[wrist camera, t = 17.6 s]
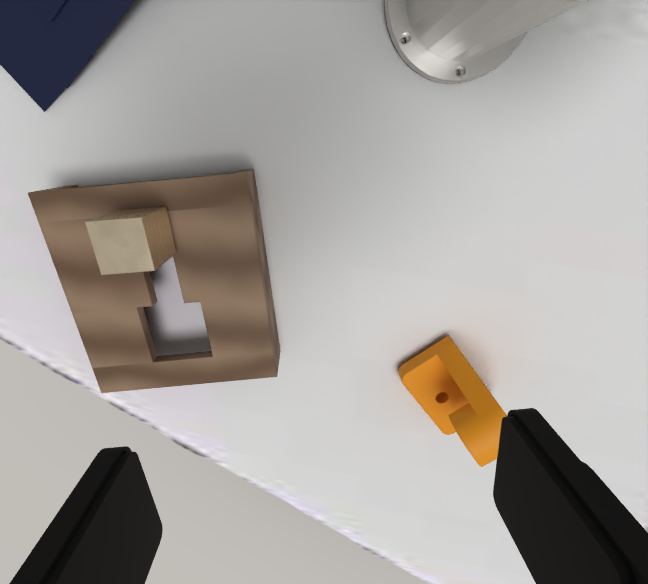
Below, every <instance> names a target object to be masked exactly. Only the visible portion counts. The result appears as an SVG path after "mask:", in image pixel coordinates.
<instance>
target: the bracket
mask: <svg viewBox="0 0 648 584" xmlns="http://www.w3.org/2000/svg"><path fill="white" fill-rule="evenodd" d="M398 372H399V375H400V378H401V380H402V383H403V385H404V386H405V387H406V388H407V390H408V391H409V392H410V393H411V394H412V396H413V397H414V398H415V399H416V401H417V402H418V403H419V404H420V405H421V407H422V408H423V409H424V410H425V412H426V413H427V414H428V415H429V416H430V418H431V419H432V420H433V421H434V423H435V424H436V425H437V426H438V428H439V429H440V430H441V431H442V432H443V433H444V434H453V433H455V432H457V434H458V435H459V437H460V439H461V440H462V442H463V443H464V445H465V446H466V448H467V449H468V451H469V452H470V454H471V455H472V456H473V458H474V459H475V460H476V462H477V463H478V464H479V465H480V466H481V467H483V466H484V465H486V464H488V463H490V462H492V461H494V460H495V459H497V456H498V448H499V439H500V431H501V422H502V418H503V417H507V415H506V414H505V412H504V411H503V410H502V408H501V407H500V405H499V404H498V403H497V401H496V400H495V399H494V397H493V396H492V394H491V393H490V392H489V390H488V389H487V388H486V386H485V385H484V383H483V382H482V381H481V379H480V378H479V377H478V375H477V374H476V372H475V371H474V370H473V368H472V367H471V366H470V364H469V363H468V361H467V360H466V359H465V357H464V356H463V354H462V353H461V352H460V350H459V349H458V348H457V346H456V345H455V343H454V342H453V341H452V339H451V338H450V337H449V335H448V336H447V337H445V338H443V339H442V340H440V341H439V342H437V343H436V344H434V345H432V346H431V347H429V348H428V349H426V350H425V351H423V352H421V353H420V354H418V355H417V356H415V357H414V358H412V359H411V360H409V361H407V362H406V363H404V364H403V365H401V366H400V368H399V370H398Z"/></svg>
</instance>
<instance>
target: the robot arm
mask: <svg viewBox="0 0 648 584" xmlns="http://www.w3.org/2000/svg"><path fill="white" fill-rule="evenodd" d="M586 1H588V0H385V16H386V21H387V27H388V31H389V33H390V36H391V39H392V42H393V44H394V46H395V48H396V49H397V51H398V53H399V55H400V56H401V58H402V59H403V60H404V61H405V62H406V63H407V64H408V65H409V67H410V68H412V69H413V70H414V71H416V72H417V73H418V74H420V75H421V76H423V77H425V78H428V79H430V80H432V81H436V82H441V83H462V82H466V81H470V80H474V79H476V78H478V77H481V76H483V75H485V74H487V73H489V72H490V71H492V70H494V69H495V68H497V67H498V66H499V65H500V64H502V63H503V62H504V61H505V60H506V59H507V58H509V56H510V55H511V54H512V53H513V52H514V50H515V49H516V48H517V47H518V46H519V45H520V43H521V41H522V40H523V38H524V37H525V35H526V33H527V32H528V31H529V30H531V29H533V28H535V27H537V26H539V25H541V24H543V23H545V22H547V21H549V20H551V19H552V18H554V17H556V16H558V15H560V14H562V13H564V12H566V11H568V10H570V9H572V8H574V7H576V6H578V5H580V4H582V3H584V2H586ZM401 38H405V39H406V43H405V44H402V43H401ZM456 70H458V71H459V76H457V75H456ZM493 496H494V501H495V504H496V507H497V509H498V511H499V513H500V515H501V517H502V519H503V521H504V523H505V525H506V527H507V528H508V530H509V532H510V534H511V536H512V538H513V540H514V542H515V544H516V546H517V548H518V550H519V552H520V554H521V555H522V557H523V559H524V561H525V563H526V565H527V567H528V569H529V571H530V573H531V575H532V577H533V579H534V581H535V582H536V584H648V533H647V532H646V530H645V529H644V528H643V527H642V526H641V525H640V524H639V522H638V521H637V520H636V519H635V518H634V517H633V516H632V514H631V513H630V512H629V511H628V510H627V509H626V508H625V506H624V505H623V504H622V503H621V502H620V501H619V500H618V498H617V497H616V496H615V495H614V494H613V493H612V492H611V490H610V489H609V488H608V487H607V486H606V485H605V483H604V482H603V481H602V480H601V479H600V478H599V477H598V475H597V474H596V473H595V472H594V471H593V470H592V469H591V468H590V467H589V466H588V465H587V464H586V463H584V462H582V461H580V460H579V458H578V457H577V456H576V455H575V454H574V453H573V451H572V450H571V449H570V448H569V447H568V446H567V444H566V443H565V442H564V441H563V440H562V439H561V437H560V436H559V435H558V434H557V433H556V432H555V430H554V429H553V428H552V427H551V426H550V425H549V423H548V422H547V421H546V420H545V419H544V418H543V416H542V415H541V414H540V413H539V412H538V411H537V410H536V409H534V408H529V409H519V410H510V411H509V412H508V415H507V417H503V418H502V422H501V431H500V439H499V448H498V456H497V465H496V473H495V482H494V490H493ZM161 537H162V523H161V520H160V517H159V514H158V511H157V509H156V506H155V503H154V500H153V497H152V494H151V492H150V489H149V486H148V483H147V480H146V477H145V474H144V472H143V469H142V466H141V463H140V460H139V457H138V455H137V453H136V452H132V451H131V450H130V448H129V447H115V448H104V449H102V450H101V451H100V452H99V453H98V454H97V456H96V457H95V459H94V460H93V461H92V463H91V465H90V466H89V468H88V469H87V470H86V472H85V473H84V475H83V476H82V478H81V479H80V481H79V482H78V484H77V485H76V487H75V488H74V490H73V491H72V493H71V494H70V495H69V497H68V498H67V500H66V501H65V503H64V504H63V506H62V507H61V509H60V510H59V512H58V513H57V515H56V516H55V518H54V519H53V521H52V522H51V523H50V525H49V526H48V528H47V529H46V531H45V532H44V534H43V535H42V537H41V538H40V540H39V541H38V543H37V544H36V546H35V547H34V549H33V550H32V552H31V553H30V555H29V556H28V557H27V559H26V561H25V562H24V563H23V565H22V566H21V568H20V569H19V571H18V572H17V574H16V575H15V577H14V578H13V580H12V581H11V582H10V584H145V581H146V578H147V576H148V573H149V570H150V568H151V565H152V562H153V560H154V557H155V554H156V552H157V549H158V546H159V544H160V541H161Z"/></svg>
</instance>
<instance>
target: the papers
mask: <svg viewBox="0 0 648 584" xmlns="http://www.w3.org/2000/svg"><path fill="white" fill-rule="evenodd" d="M134 1H135V0H0V65H1V66H2V67H3V68H4V69H5V70H6V71H7V72H8V73H9V74H10V75H11V76H12V77H13V78H14V80H15V81H16V82H17V83H18V84H19V85H20V86H21V87H22V88H23V89H24V90H25V91H26V92H27V93H28V95H29V96H30V97H31V98H32V99H33V100H34V101H35V102H36V103H37V104H38V105H39V106H40V107H41V108H42V110H43V111H45V110H46V109H47V108H48V107H49V106H50V105H51V103H52V102H53V101H54V100H55V99H56V98H57V97H58V95H59V94H60V93H61V92H62V91H63V90H64V89H65V88H66V87H67V88H68V86H69V85H70V84H71V83H72V81H73V80H74V79H75V78H76V76H77V75H78V74H79V72H80V71H81V70H82V69H83V67H84V66H85V65H86V63H87V62H88V61H89V60H90V58H91V57H92V56H93V55H92V54H93V53H94V52H95V51H96V49H97V48H98V47H99V45H100V44H101V43H102V42H103V40H104V39H105V38H106V36H107V35H108V34H109V33H110V31H111V30H112V29H113V27H114V26H115V25H116V24H117V22H118V21H119V20H120V18H121V17H122V16H123V15H124V13H125V12H126V11H127V10H128V8H129V7H130V6H131V4H132V3H133V2H134Z"/></svg>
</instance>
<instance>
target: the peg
mask: <svg viewBox="0 0 648 584" xmlns="http://www.w3.org/2000/svg"><path fill="white" fill-rule="evenodd" d="M85 223H86V227H87V230H88V233H89V236H90V240H91V243H92V246H93V249H94V253H95V256H96V259H97V262H98V266H99V269H100V272H101V275H107V274H120V273H132V272H145V271H155V270H156V269H157V268H159V267H160V266H161V265H162V264H163V263H165V262H166V261H167V260H168V259H170V258H171V257H172V256H173V255H174V254H176V248H175V244H174V239H173V235H172V230H171V226H170V221H169V217H168V212H167V208H166V207H154V208H141V209H128V210H117V211H115V212H112V213H109V214H106V215H103V216H100V217H98V218H95V219H92V220H89V221H86V222H85Z"/></svg>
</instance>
